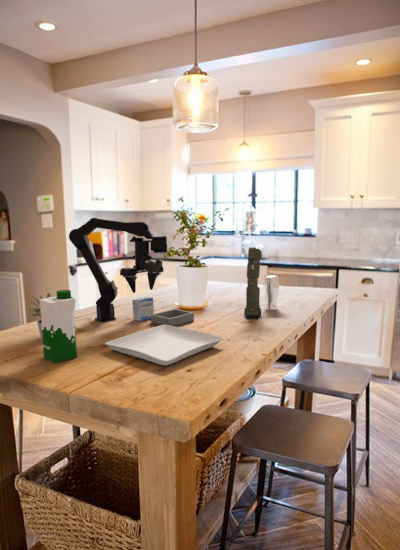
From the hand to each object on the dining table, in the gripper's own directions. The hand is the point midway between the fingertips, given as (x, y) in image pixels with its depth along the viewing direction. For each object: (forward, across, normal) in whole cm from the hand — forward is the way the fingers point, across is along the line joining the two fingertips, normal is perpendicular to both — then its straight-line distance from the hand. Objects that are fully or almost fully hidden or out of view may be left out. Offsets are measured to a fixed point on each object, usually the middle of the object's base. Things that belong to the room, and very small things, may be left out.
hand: (142, 291), depth 166 cm
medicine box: (+12, 0, 0) cm, 12 cm away
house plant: (+12, -39, +6) cm, 41 cm away
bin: (+12, +4, -13) cm, 18 cm away
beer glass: (+12, +50, -31) cm, 60 cm away
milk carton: (+12, -47, -17) cm, 51 cm away
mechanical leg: (+12, +34, -31) cm, 47 cm away
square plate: (+12, -21, -35) cm, 43 cm away
